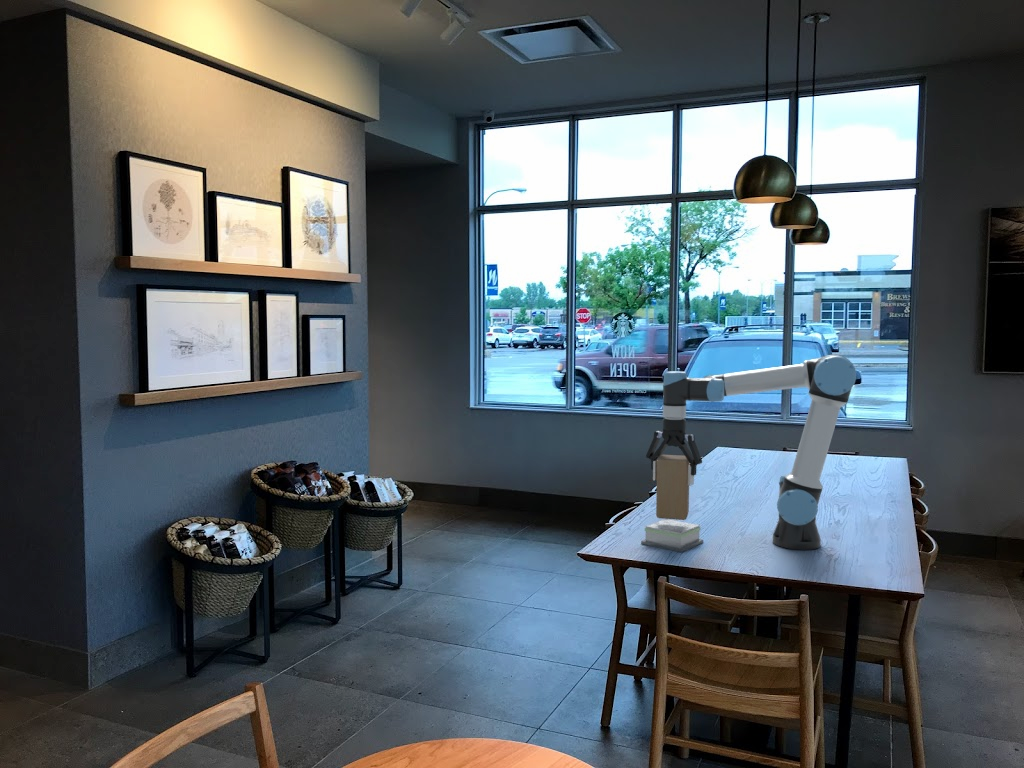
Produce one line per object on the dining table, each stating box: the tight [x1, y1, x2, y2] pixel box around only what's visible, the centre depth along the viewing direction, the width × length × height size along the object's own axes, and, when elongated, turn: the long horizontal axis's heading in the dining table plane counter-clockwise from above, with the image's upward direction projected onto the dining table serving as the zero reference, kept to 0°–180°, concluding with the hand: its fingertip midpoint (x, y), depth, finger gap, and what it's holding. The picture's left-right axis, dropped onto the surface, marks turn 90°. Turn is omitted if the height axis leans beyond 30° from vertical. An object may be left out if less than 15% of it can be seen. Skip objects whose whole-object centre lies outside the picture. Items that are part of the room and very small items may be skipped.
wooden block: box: [655, 454, 690, 521], centre depth 267 cm, size 10×10×20 cm
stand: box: [640, 519, 704, 553], centre depth 268 cm, size 15×15×6 cm
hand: (673, 482), depth 266 cm, fingers closed on wooden block, 12 cm apart
